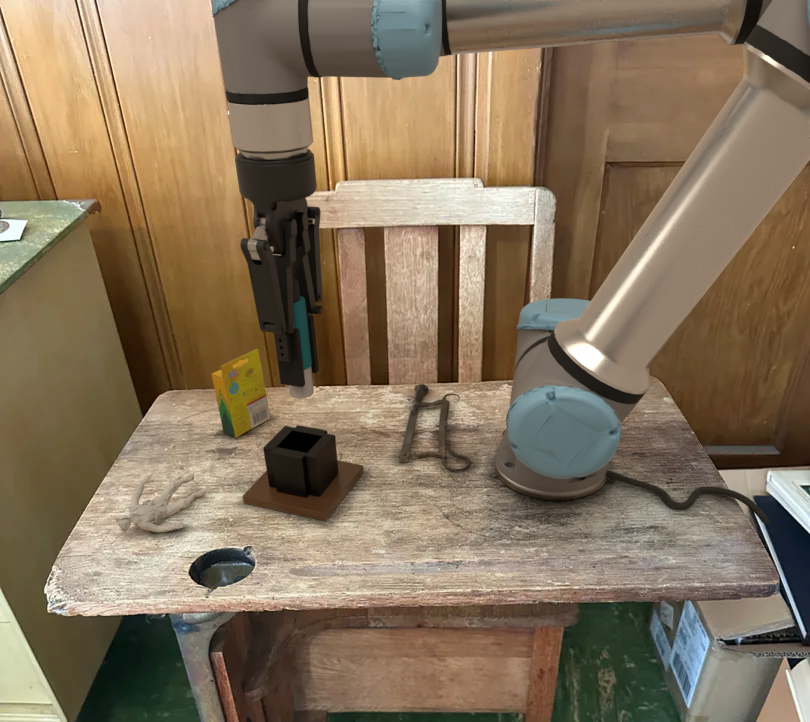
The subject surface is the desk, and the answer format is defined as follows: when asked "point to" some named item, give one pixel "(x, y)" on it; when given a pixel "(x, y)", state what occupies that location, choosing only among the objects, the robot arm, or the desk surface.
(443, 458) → the hacksaw
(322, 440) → the holder
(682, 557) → the desk surface
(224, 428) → the crayon box
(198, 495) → the soldier figure
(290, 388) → the teal and black cylinder
